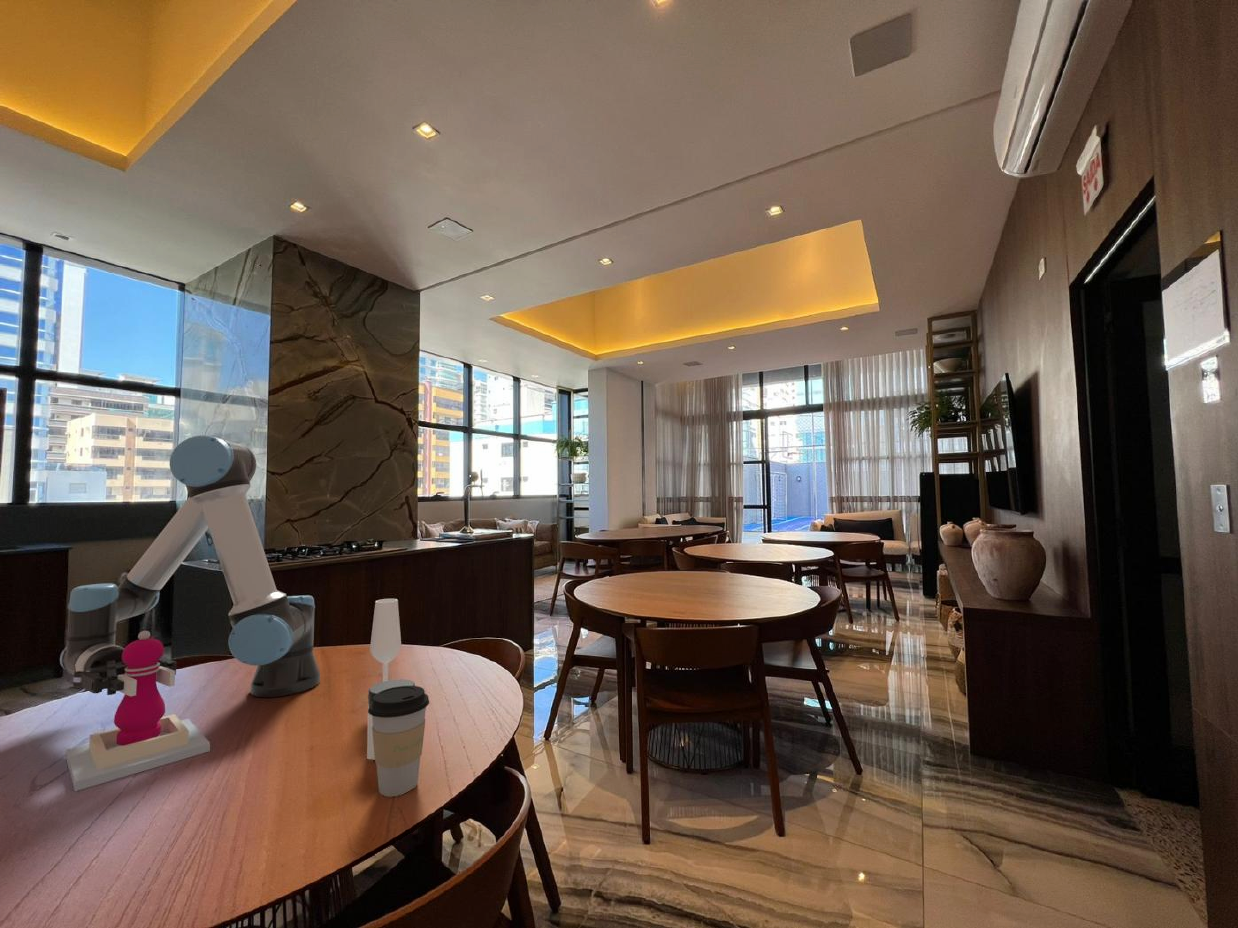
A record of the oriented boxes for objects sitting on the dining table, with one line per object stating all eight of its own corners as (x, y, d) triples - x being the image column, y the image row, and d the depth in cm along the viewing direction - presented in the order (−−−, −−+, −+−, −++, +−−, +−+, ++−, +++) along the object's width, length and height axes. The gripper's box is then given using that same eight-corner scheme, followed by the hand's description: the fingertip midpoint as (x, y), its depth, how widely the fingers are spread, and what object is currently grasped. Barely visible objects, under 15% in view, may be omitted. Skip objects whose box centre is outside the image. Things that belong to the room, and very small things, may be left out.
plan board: (188, 725, 112) (188, 706, 113) (209, 750, 101) (210, 729, 101) (65, 757, 99) (67, 735, 99) (74, 791, 87) (76, 766, 87)
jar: (402, 736, 106) (403, 675, 107) (424, 748, 101) (425, 684, 101) (357, 753, 99) (358, 688, 100) (377, 767, 94) (378, 698, 95)
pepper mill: (173, 732, 102) (178, 627, 104) (128, 749, 95) (134, 636, 97) (148, 727, 105) (153, 625, 106) (103, 743, 98) (109, 633, 99)
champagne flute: (362, 708, 120) (364, 602, 122) (385, 698, 127) (386, 597, 128) (384, 713, 118) (386, 604, 119) (406, 702, 124) (408, 598, 126)
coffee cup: (406, 805, 82) (408, 706, 83) (353, 799, 84) (355, 702, 85) (439, 774, 91) (440, 685, 92) (390, 769, 93) (391, 682, 94)
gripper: (160, 670, 117) (209, 688, 105) (43, 697, 102) (85, 721, 90) (162, 636, 118) (211, 650, 106) (45, 657, 102) (88, 676, 91)
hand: (153, 683), depth 98 cm, fingers closed on pepper mill, 5 cm apart
